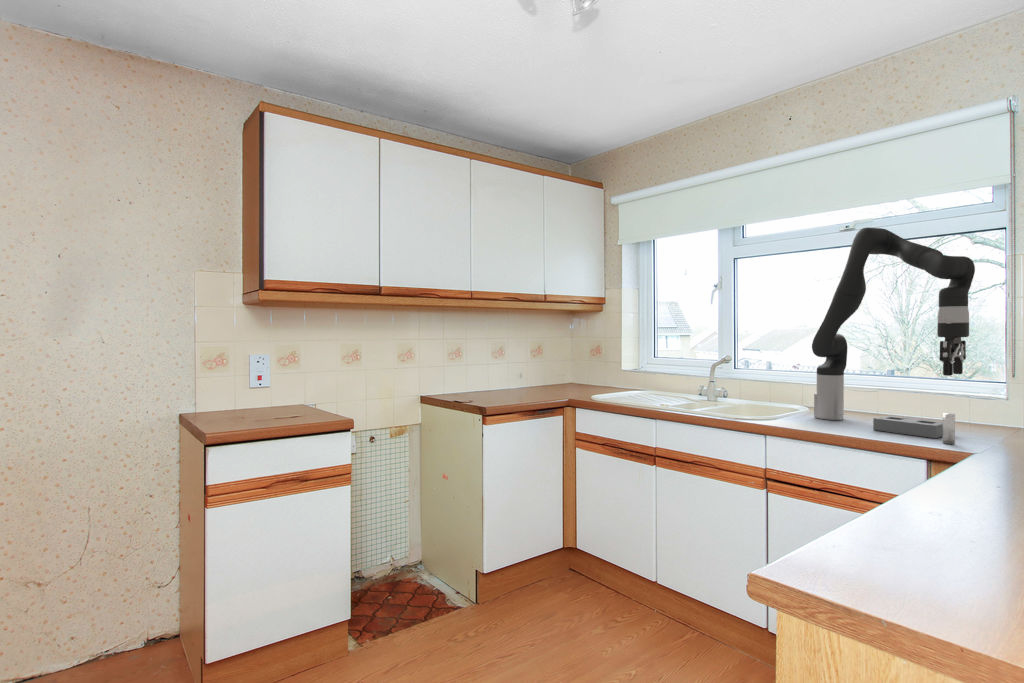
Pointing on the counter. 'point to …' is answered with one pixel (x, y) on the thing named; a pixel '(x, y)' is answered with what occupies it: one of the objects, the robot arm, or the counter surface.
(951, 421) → the steel peg
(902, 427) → the hole block
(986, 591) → the counter surface
